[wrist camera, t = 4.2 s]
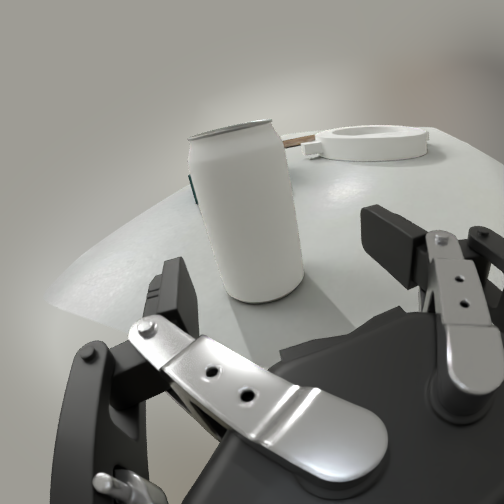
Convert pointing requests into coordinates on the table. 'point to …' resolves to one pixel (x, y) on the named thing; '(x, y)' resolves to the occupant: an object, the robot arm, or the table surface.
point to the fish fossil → (298, 141)
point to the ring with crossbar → (369, 143)
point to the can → (248, 209)
